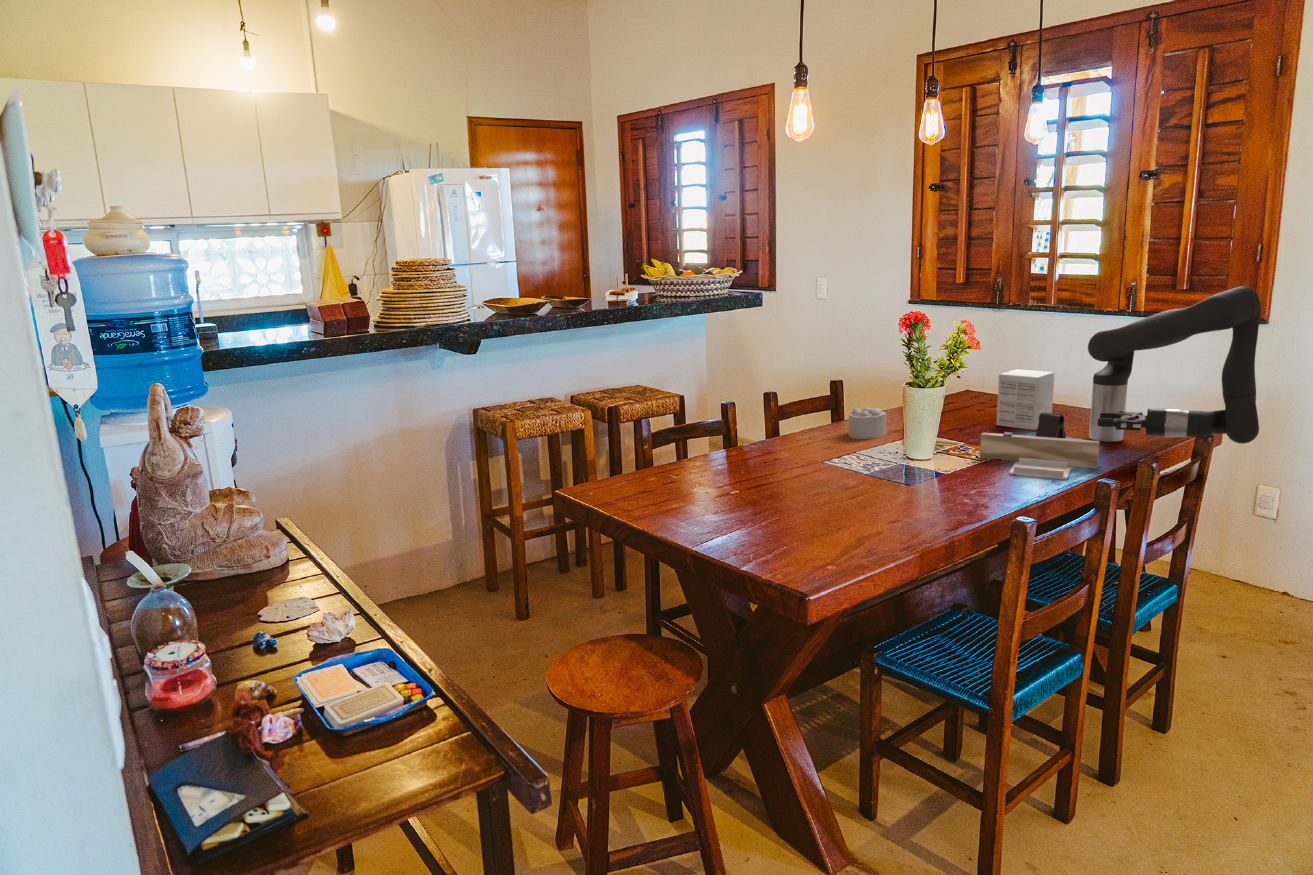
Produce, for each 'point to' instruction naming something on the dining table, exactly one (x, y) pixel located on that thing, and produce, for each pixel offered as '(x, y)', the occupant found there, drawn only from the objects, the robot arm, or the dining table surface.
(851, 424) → the lumpy-topped squat cylinder
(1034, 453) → the door board
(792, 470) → the dining table surface
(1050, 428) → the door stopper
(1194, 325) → the robot arm
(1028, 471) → the keeper plate
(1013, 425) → the supplement box
